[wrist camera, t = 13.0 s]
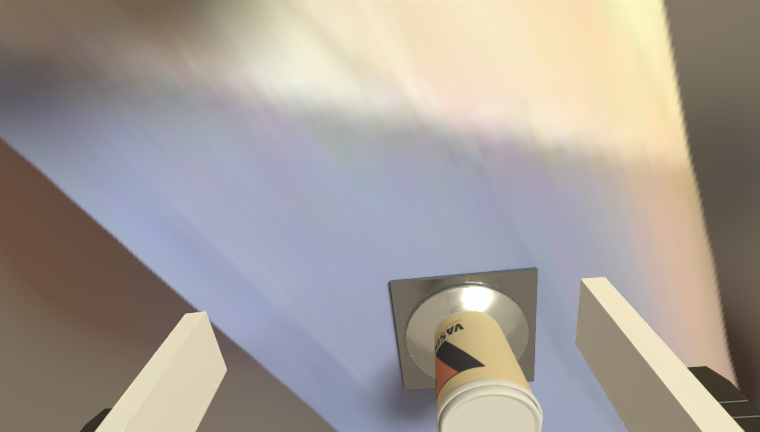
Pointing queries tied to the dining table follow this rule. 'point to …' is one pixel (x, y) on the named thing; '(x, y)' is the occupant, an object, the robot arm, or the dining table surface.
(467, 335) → the coffee cup
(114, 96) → the dining table surface
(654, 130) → the dining table surface
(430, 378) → the flange plate
